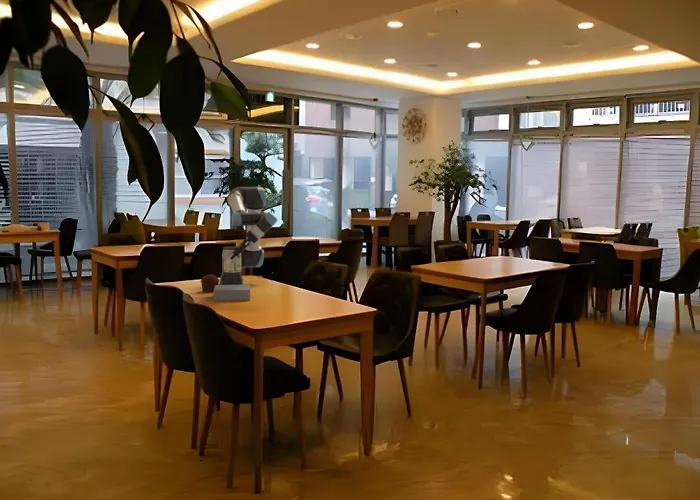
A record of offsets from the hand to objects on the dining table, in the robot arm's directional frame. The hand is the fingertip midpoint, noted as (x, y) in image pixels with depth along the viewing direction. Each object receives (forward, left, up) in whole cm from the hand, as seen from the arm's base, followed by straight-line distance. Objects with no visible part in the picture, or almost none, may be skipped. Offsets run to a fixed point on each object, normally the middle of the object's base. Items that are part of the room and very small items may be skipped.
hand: (226, 261), depth 379 cm
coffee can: (0, +3, -6) cm, 6 cm away
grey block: (0, +3, -21) cm, 21 cm away
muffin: (-25, -11, -21) cm, 34 cm away
